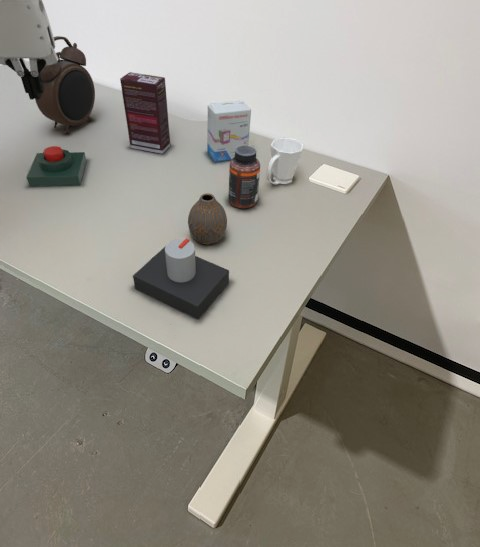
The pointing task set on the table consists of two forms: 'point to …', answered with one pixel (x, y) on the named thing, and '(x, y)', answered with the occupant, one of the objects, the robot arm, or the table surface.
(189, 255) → the dial
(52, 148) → the lid button
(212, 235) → the vase
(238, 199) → the supplement bottle
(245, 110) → the ink box
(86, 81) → the alarm clock
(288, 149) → the cup
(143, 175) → the table surface
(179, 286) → the dial panel
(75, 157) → the green button base
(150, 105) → the supplement box
